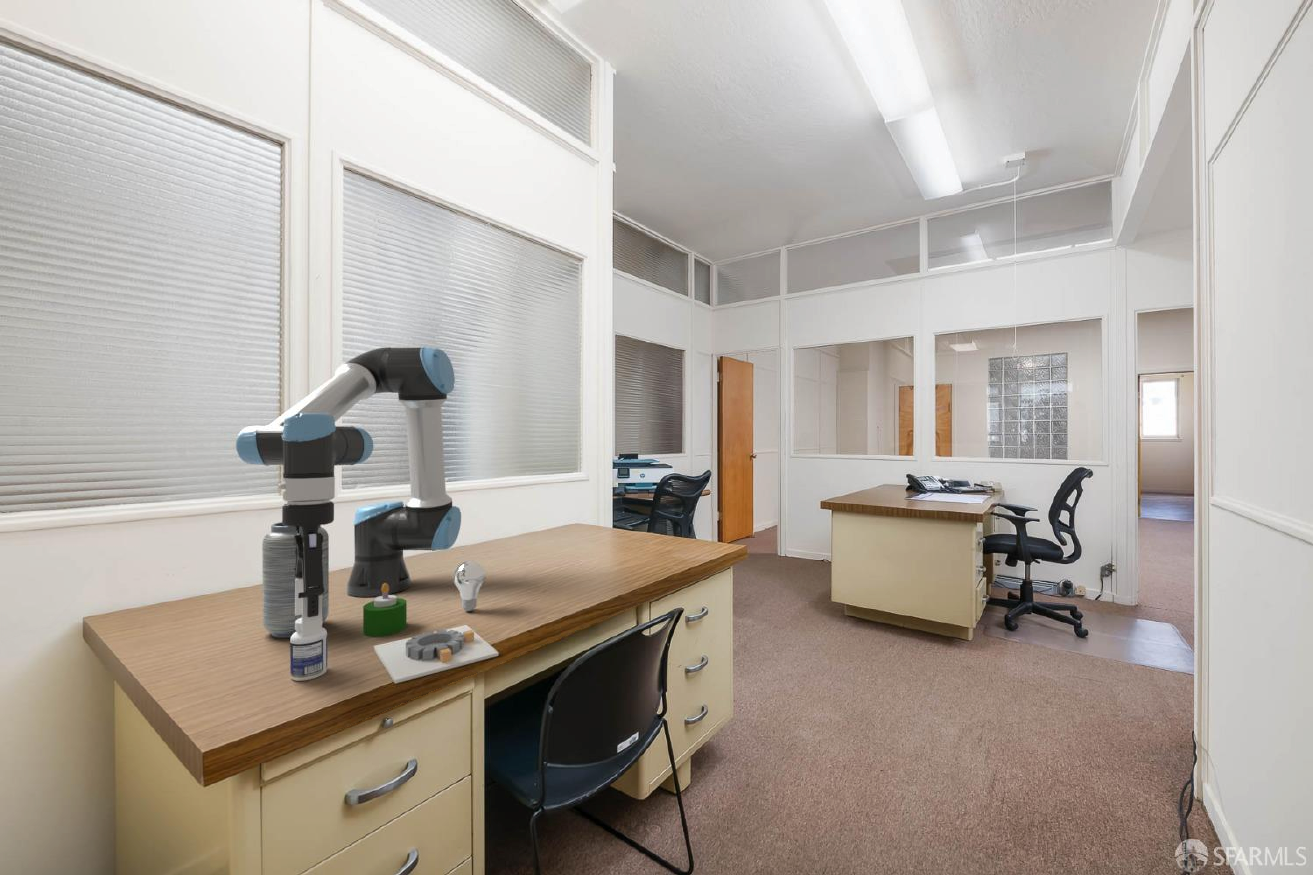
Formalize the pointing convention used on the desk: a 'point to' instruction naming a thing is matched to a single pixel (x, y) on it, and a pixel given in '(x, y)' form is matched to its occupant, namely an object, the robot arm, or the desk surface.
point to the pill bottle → (307, 654)
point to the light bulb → (469, 583)
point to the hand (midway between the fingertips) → (307, 623)
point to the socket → (433, 652)
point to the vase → (286, 580)
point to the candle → (384, 615)
